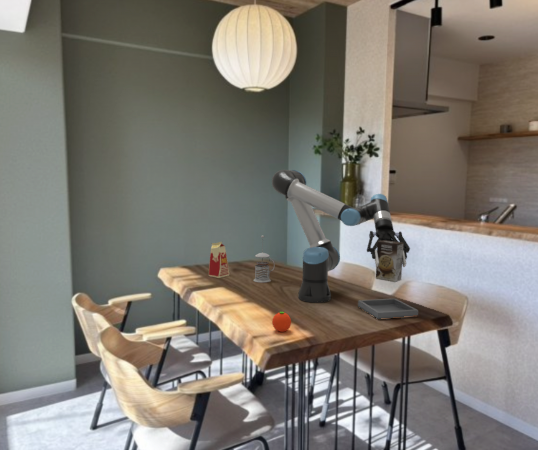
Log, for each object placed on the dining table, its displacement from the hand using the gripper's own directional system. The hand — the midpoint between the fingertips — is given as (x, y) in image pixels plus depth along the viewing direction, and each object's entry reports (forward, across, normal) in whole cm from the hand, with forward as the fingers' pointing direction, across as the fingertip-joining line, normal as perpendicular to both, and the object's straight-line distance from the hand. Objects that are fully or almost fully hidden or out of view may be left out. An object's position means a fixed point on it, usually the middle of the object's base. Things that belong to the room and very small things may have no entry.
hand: (391, 265), depth 178 cm
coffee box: (+3, 0, -7) cm, 8 cm away
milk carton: (-32, +80, -62) cm, 106 cm away
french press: (-25, +54, -55) cm, 81 cm away
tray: (+13, 0, -17) cm, 21 cm away
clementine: (+31, +45, +1) cm, 55 cm away
